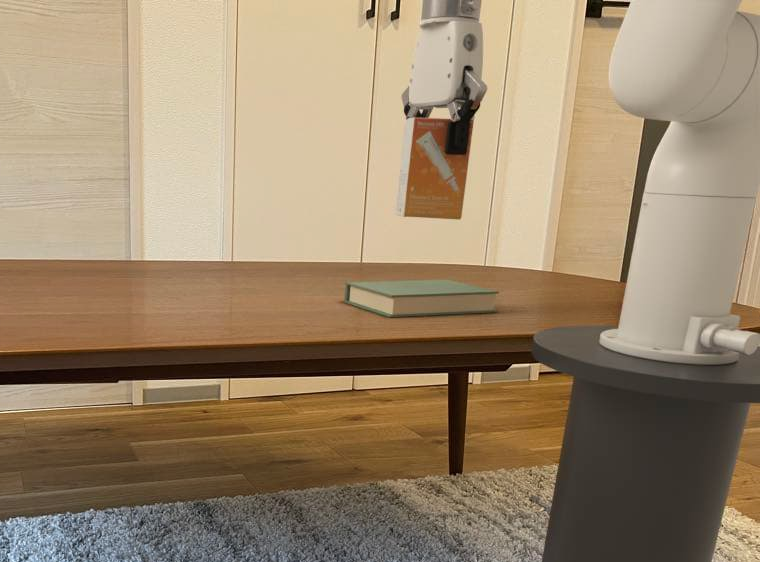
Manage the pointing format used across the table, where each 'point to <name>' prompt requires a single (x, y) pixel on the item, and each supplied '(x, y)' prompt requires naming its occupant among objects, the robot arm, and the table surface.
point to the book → (420, 297)
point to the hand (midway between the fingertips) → (434, 154)
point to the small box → (430, 171)
